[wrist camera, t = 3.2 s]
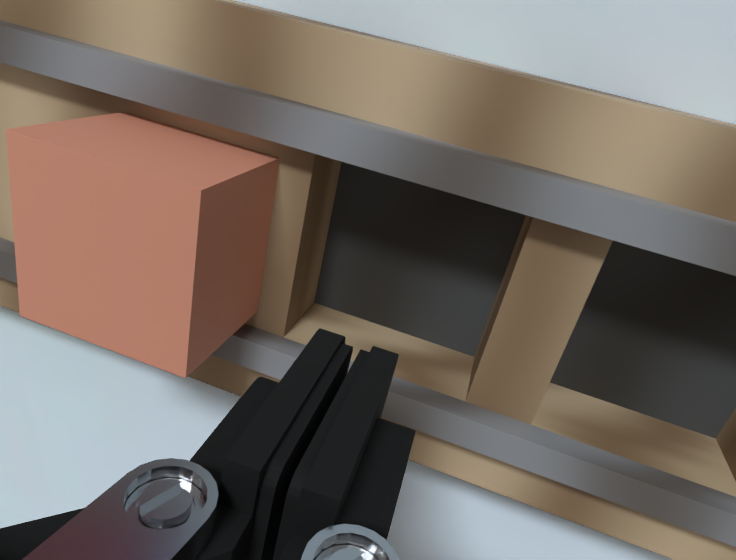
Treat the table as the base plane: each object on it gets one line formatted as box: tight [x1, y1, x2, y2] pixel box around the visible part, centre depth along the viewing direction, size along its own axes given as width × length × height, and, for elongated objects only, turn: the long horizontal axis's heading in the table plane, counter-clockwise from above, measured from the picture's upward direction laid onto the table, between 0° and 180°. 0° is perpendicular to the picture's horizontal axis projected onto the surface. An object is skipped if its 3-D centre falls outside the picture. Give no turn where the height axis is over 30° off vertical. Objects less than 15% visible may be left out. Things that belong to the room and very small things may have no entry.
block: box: [6, 112, 280, 378], centre depth 15 cm, size 5×5×4 cm
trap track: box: [0, 0, 736, 560], centre depth 16 cm, size 34×12×6 cm, turn 77°
